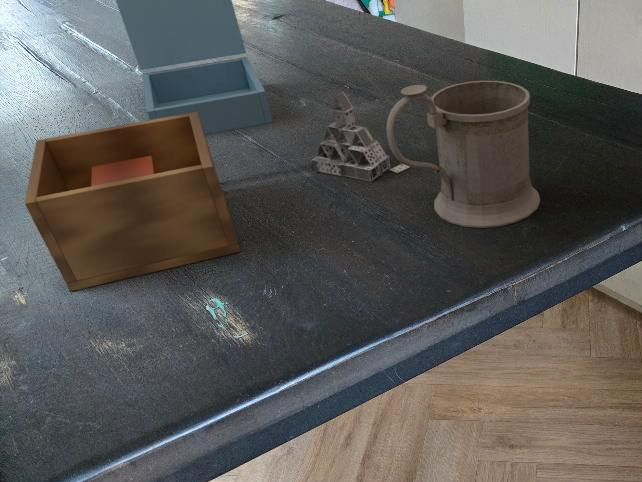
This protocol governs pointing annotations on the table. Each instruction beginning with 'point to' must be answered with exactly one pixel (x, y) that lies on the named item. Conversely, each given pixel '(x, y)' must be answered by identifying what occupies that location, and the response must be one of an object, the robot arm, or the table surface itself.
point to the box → (209, 95)
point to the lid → (180, 30)
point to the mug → (477, 151)
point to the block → (123, 170)
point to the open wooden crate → (129, 202)
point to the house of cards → (351, 147)
